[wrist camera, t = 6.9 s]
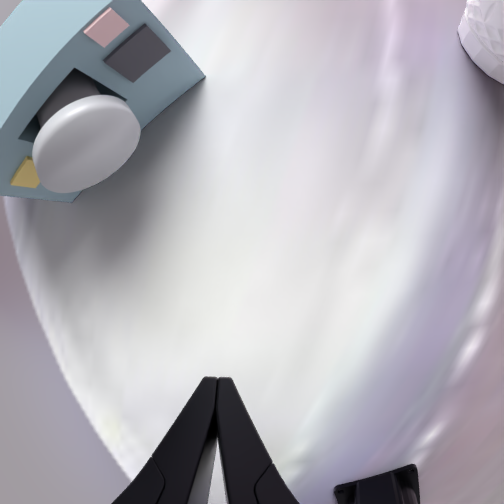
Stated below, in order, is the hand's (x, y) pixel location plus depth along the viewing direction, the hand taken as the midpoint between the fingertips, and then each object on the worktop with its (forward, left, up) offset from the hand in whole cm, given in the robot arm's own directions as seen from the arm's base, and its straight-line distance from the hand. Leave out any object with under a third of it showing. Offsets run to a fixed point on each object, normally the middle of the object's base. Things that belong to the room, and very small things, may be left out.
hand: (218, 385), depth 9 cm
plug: (+18, +6, -7) cm, 20 cm away
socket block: (+20, +7, -10) cm, 23 cm away
